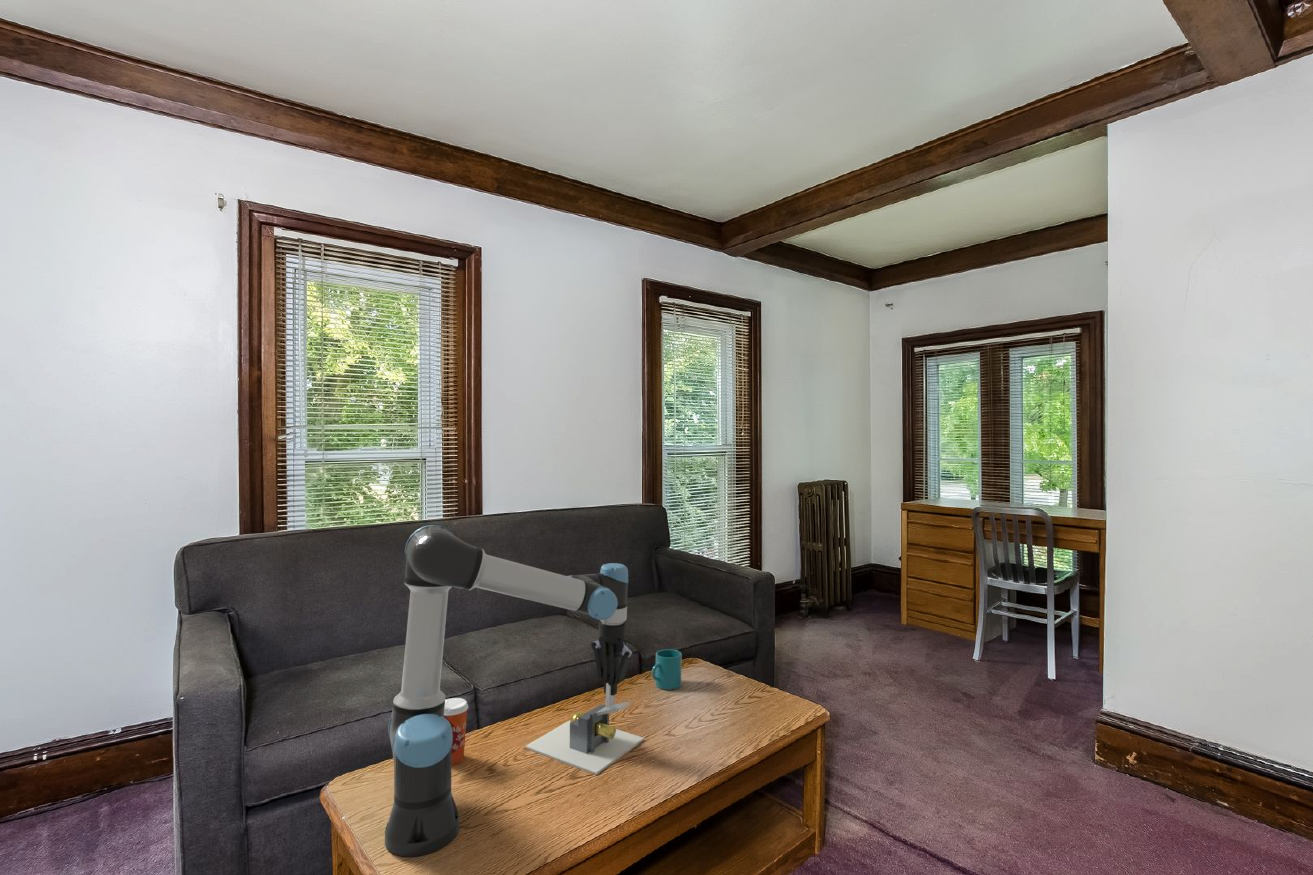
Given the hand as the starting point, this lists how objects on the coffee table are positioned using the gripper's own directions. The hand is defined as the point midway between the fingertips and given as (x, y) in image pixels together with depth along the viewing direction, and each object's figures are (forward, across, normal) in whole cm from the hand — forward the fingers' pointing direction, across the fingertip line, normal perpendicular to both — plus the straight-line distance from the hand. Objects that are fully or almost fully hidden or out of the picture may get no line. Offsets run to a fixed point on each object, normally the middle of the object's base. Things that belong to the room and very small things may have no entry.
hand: (609, 705), depth 169 cm
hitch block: (+13, +6, +1) cm, 14 cm away
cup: (+14, +9, -46) cm, 49 cm away
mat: (+13, +8, +1) cm, 15 cm away
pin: (+10, +5, +1) cm, 11 cm away
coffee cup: (+14, +32, +26) cm, 44 cm away
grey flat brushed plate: (+2, +3, +1) cm, 4 cm away
